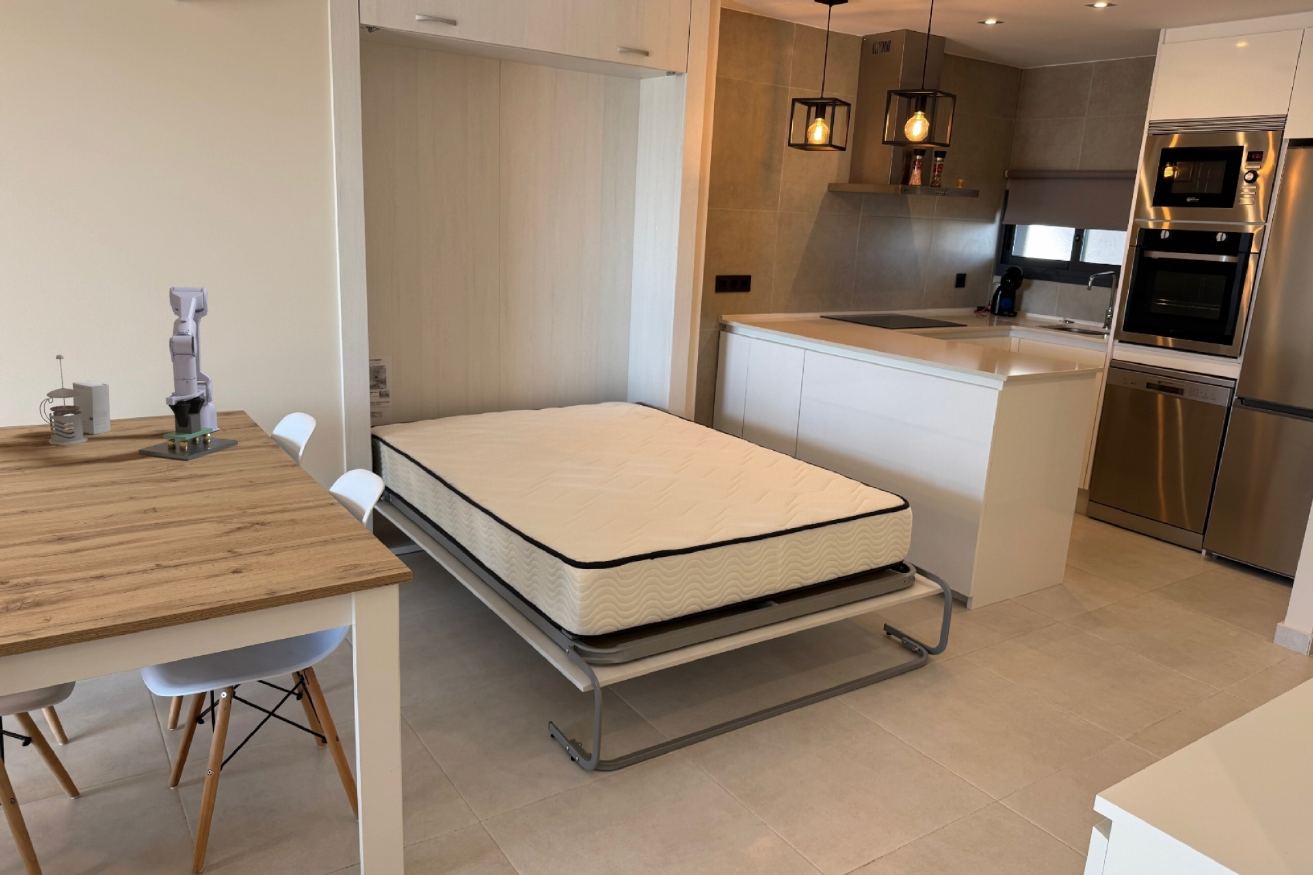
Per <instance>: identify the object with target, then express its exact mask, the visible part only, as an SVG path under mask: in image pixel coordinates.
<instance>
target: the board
mask: <svg viewBox="0 0 1313 875" xmlns="http://www.w3.org/2000/svg"><path fill="white" fill-rule="evenodd" d="M211 431H213V428H206V427H201V424H200V414H197V413H188V424H187V427H179V425H178V422H177V419H176V417H175V416H174V431H171V432H168V433H165V434H162V439H169V438H171V439H180V440H188V439H191V438H194V437H197V436H199V435H200V436H203V435H202V434H205V433H208V432H210V433H212V432H211Z"/></svg>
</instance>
